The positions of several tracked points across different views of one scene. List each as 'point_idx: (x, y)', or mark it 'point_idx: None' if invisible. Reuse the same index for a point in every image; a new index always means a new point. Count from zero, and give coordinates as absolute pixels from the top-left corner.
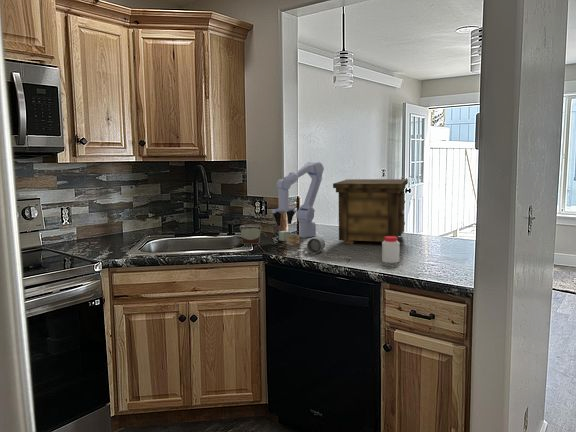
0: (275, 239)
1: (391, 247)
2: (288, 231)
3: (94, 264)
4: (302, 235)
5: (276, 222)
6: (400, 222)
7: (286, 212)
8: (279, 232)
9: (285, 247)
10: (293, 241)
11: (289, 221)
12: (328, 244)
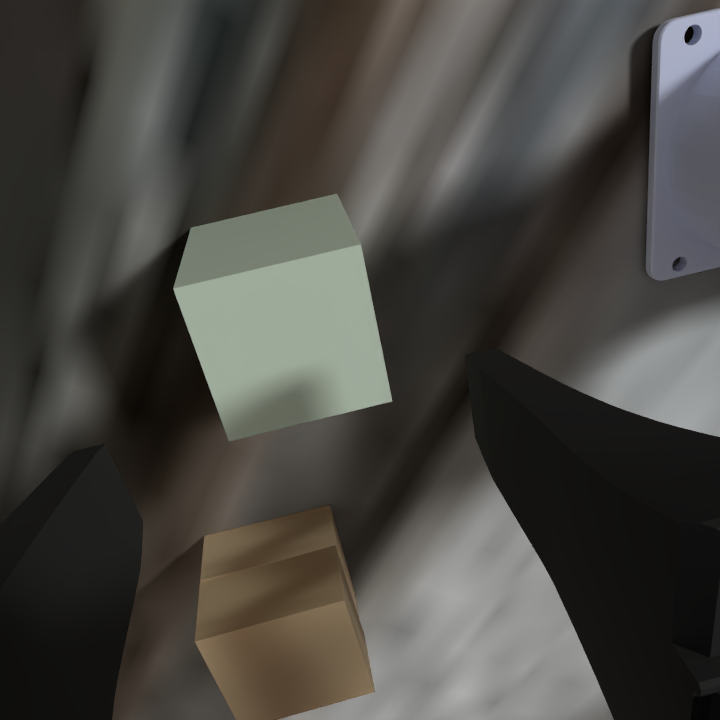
0: (146, 121)
1: None
2: (375, 373)
3: None
4: (683, 210)
5: (29, 502)
6: None
7: (667, 519)
8: (184, 306)
9: (116, 692)
10: None
11: (499, 457)
12: (592, 693)
